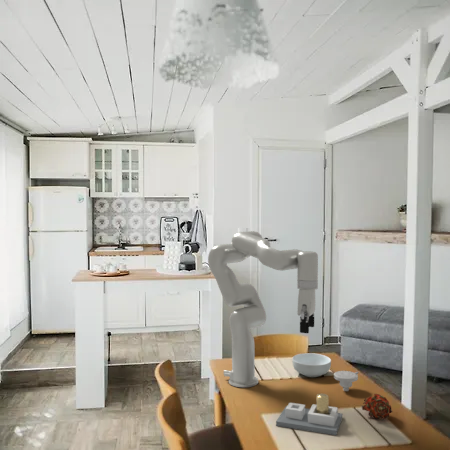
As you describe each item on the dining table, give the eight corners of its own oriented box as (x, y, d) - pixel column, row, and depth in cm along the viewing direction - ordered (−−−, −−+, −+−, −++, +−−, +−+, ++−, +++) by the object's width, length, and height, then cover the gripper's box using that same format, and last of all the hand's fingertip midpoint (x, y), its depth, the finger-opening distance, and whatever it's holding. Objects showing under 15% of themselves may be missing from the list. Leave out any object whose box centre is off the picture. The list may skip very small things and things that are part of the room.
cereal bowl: (285, 376, 209) (285, 360, 209) (302, 366, 223) (302, 351, 223) (321, 383, 200) (321, 367, 200) (336, 372, 213) (336, 356, 213)
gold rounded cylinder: (315, 420, 161) (315, 397, 160) (318, 415, 164) (317, 393, 164) (327, 422, 159) (327, 398, 159) (329, 417, 163) (329, 394, 163)
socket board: (276, 425, 161) (276, 412, 160) (286, 409, 174) (286, 397, 174) (336, 435, 153) (336, 421, 153) (342, 417, 166) (342, 404, 166)
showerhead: (362, 375, 188) (338, 376, 187) (363, 393, 188) (338, 395, 187) (354, 368, 197) (330, 368, 196) (354, 385, 197) (330, 386, 196)
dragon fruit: (388, 429, 160) (365, 420, 171) (402, 411, 163) (380, 403, 174) (373, 410, 159) (352, 403, 170) (388, 392, 162) (367, 386, 173)
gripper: (302, 280, 188) (302, 323, 188) (292, 287, 172) (291, 334, 172) (321, 281, 185) (321, 325, 185) (312, 288, 169) (312, 336, 169)
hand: (307, 329), depth 179 cm, fingers open, 9 cm apart
